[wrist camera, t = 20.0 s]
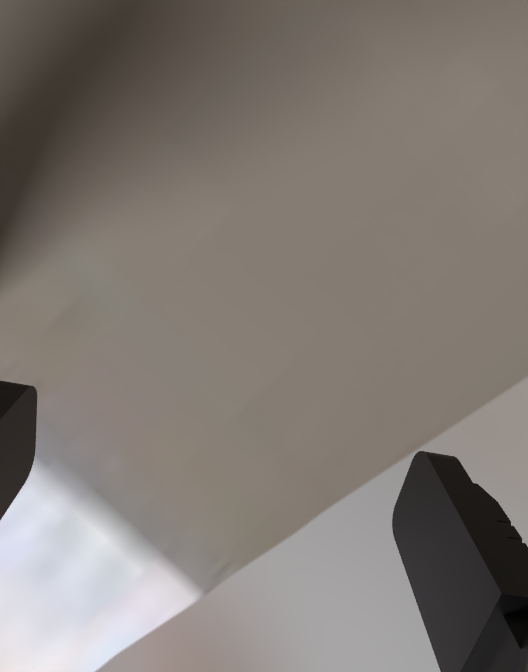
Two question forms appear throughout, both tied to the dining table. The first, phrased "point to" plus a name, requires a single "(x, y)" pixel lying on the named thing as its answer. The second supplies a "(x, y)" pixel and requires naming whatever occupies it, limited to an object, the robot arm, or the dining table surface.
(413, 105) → the dining table surface
